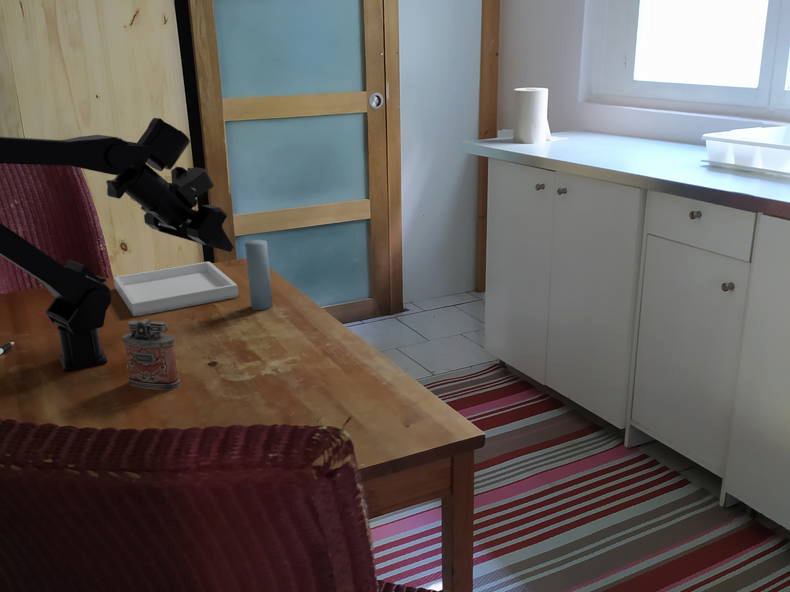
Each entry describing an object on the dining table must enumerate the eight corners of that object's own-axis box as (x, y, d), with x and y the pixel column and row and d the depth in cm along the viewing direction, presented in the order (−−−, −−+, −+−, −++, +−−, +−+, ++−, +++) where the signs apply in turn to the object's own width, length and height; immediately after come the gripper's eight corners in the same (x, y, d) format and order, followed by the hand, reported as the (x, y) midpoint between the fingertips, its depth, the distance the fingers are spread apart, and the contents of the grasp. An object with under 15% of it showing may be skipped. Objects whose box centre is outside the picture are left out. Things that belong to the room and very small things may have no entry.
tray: (238, 297, 149) (237, 285, 148) (134, 316, 140) (132, 304, 139) (210, 272, 166) (209, 261, 165) (115, 288, 157) (113, 277, 156)
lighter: (124, 386, 112) (114, 322, 108) (138, 376, 115) (128, 314, 112) (172, 391, 109) (163, 327, 106) (185, 381, 112) (176, 318, 109)
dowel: (275, 307, 142) (270, 243, 138) (255, 311, 141) (249, 246, 137) (268, 301, 146) (262, 238, 142) (248, 305, 144) (242, 242, 140)
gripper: (211, 158, 120) (272, 215, 130) (152, 149, 132) (212, 202, 143) (171, 215, 117) (237, 269, 127) (115, 200, 129) (179, 251, 140)
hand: (217, 245), depth 135 cm, fingers open, 9 cm apart
